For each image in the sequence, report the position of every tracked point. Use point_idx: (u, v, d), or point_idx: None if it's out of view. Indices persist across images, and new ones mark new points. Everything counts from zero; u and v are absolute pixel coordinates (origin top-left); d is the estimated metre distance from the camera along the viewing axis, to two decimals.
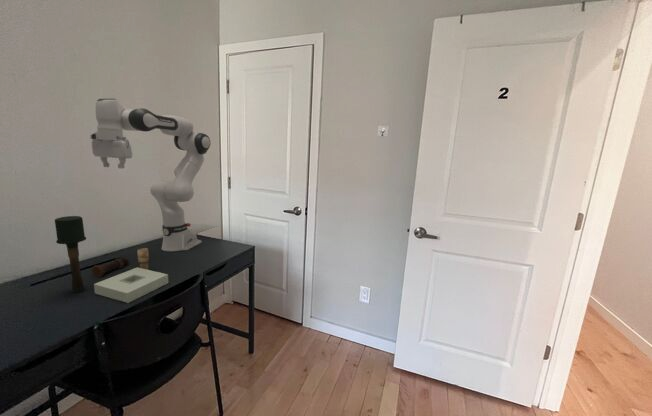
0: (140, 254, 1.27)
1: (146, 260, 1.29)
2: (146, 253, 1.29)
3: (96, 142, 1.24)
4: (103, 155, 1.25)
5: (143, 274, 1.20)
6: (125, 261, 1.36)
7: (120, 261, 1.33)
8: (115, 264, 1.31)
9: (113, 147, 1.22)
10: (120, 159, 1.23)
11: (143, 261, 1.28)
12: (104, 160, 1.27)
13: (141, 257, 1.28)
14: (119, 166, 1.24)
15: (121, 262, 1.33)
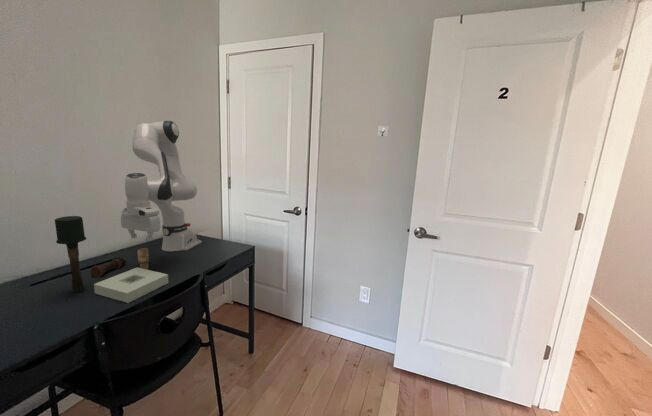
0: (140, 254, 1.27)
1: (146, 260, 1.29)
2: (146, 253, 1.29)
3: None
4: None
5: (143, 274, 1.20)
6: (123, 261, 1.36)
7: (118, 261, 1.33)
8: (113, 264, 1.31)
9: None
10: None
11: (143, 261, 1.28)
12: None
13: (141, 257, 1.28)
14: None
15: (119, 262, 1.33)
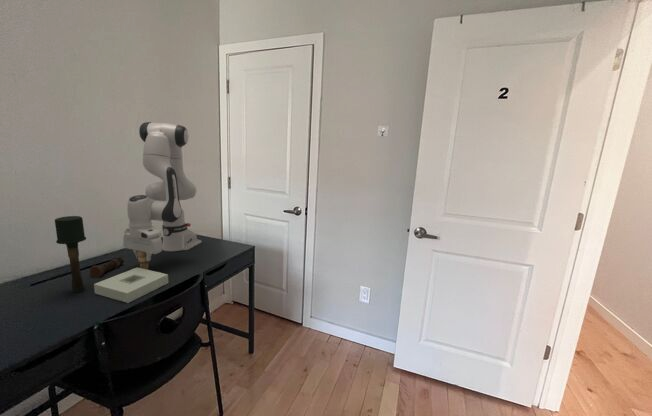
0: (140, 254, 1.27)
1: None
2: None
3: None
4: None
5: (143, 274, 1.20)
6: (120, 261, 1.36)
7: (116, 261, 1.33)
8: (112, 264, 1.31)
9: None
10: None
11: (143, 261, 1.28)
12: None
13: (141, 257, 1.28)
14: None
15: (117, 262, 1.33)
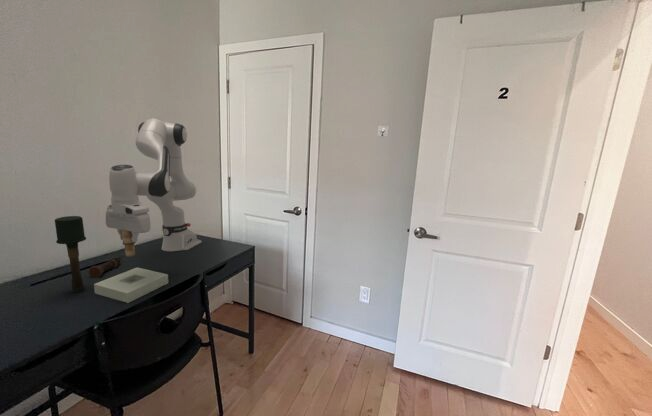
0: (125, 234, 1.09)
1: None
2: None
3: None
4: None
5: (143, 274, 1.20)
6: (118, 261, 1.36)
7: (114, 261, 1.33)
8: (110, 264, 1.31)
9: None
10: None
11: (128, 242, 1.10)
12: None
13: (126, 237, 1.10)
14: None
15: (115, 262, 1.33)
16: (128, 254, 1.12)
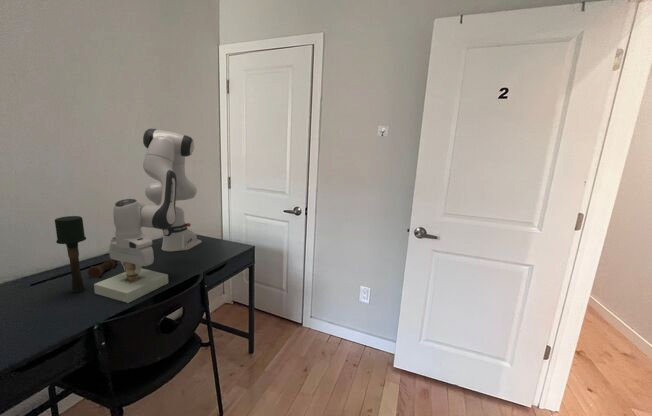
0: (128, 266, 1.12)
1: None
2: None
3: None
4: None
5: (143, 274, 1.20)
6: (115, 261, 1.36)
7: (112, 261, 1.33)
8: (108, 264, 1.31)
9: None
10: None
11: (132, 274, 1.13)
12: None
13: (129, 269, 1.12)
14: None
15: (113, 262, 1.33)
16: None
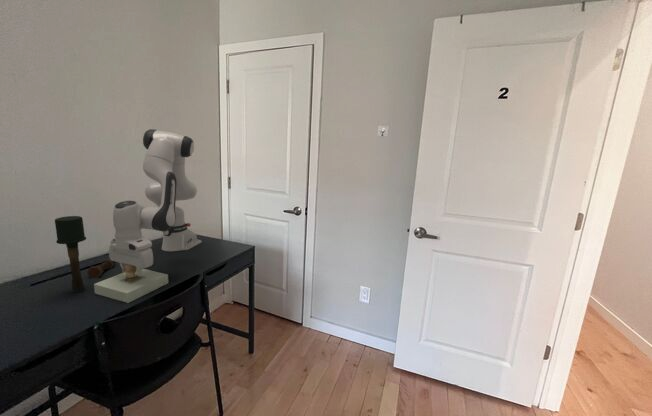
0: (128, 268, 1.12)
1: (135, 275, 1.14)
2: (135, 267, 1.14)
3: None
4: None
5: (143, 274, 1.20)
6: (113, 261, 1.36)
7: (110, 261, 1.33)
8: (107, 264, 1.31)
9: None
10: None
11: (132, 276, 1.13)
12: None
13: (129, 272, 1.13)
14: None
15: (111, 262, 1.33)
16: None
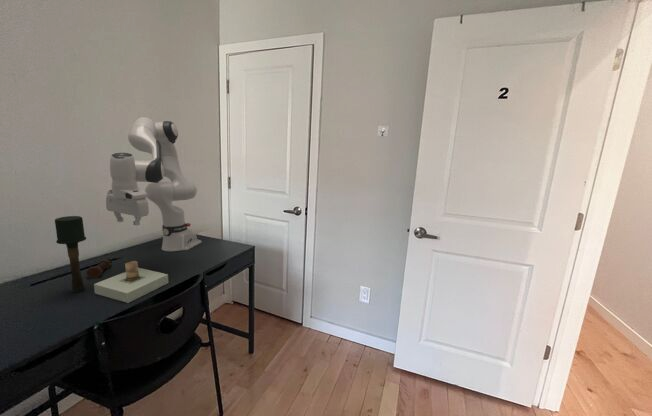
0: (128, 268, 1.12)
1: (135, 275, 1.14)
2: (135, 267, 1.14)
3: None
4: None
5: (143, 274, 1.20)
6: (110, 261, 1.35)
7: (107, 261, 1.32)
8: (104, 264, 1.30)
9: None
10: None
11: (132, 276, 1.13)
12: None
13: (129, 272, 1.13)
14: None
15: (109, 262, 1.33)
16: None
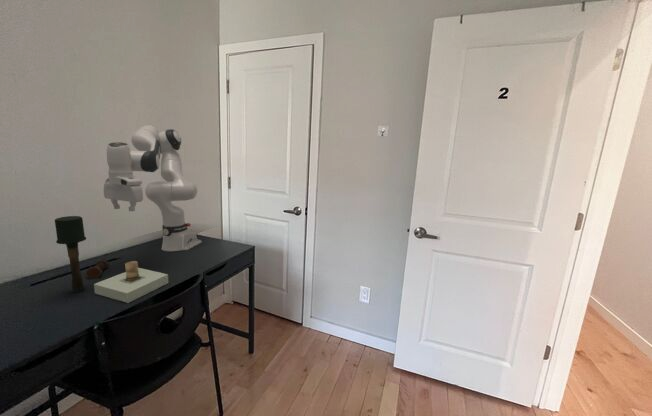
0: (128, 268, 1.12)
1: (135, 275, 1.14)
2: (135, 267, 1.14)
3: None
4: None
5: (143, 274, 1.20)
6: (107, 261, 1.35)
7: (105, 261, 1.32)
8: (103, 264, 1.30)
9: None
10: None
11: (132, 276, 1.13)
12: None
13: (129, 272, 1.13)
14: None
15: (106, 262, 1.32)
16: None
